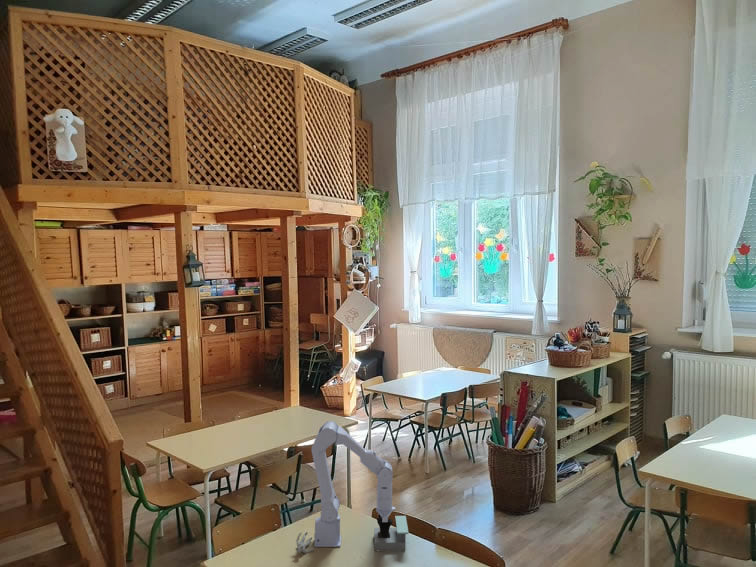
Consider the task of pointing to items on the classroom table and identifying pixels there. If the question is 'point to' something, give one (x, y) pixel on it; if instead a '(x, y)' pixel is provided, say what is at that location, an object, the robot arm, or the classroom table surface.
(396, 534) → the socket block
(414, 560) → the classroom table surface
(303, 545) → the grey branched piece
